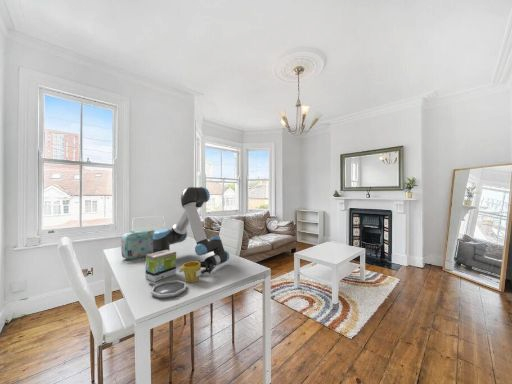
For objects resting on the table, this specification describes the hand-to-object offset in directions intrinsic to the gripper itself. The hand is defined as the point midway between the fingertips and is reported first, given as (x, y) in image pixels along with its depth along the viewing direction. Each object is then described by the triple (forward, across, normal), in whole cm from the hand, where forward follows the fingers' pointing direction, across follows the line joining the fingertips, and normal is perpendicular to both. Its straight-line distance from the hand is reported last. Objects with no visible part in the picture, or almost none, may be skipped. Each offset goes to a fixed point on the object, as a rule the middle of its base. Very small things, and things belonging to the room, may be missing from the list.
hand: (188, 272), depth 128 cm
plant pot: (-3, 0, -6) cm, 7 cm away
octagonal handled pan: (+13, +4, -6) cm, 15 cm away
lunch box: (-16, +71, -6) cm, 73 cm away
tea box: (+2, +21, -6) cm, 22 cm away
